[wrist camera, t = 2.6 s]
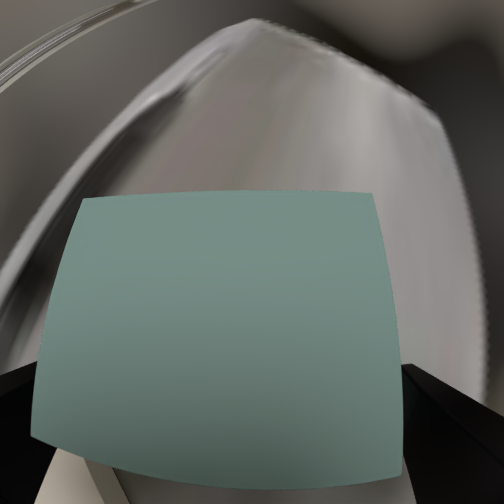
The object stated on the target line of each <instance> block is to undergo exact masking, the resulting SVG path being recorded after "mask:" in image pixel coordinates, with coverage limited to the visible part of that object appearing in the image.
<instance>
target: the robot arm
mask: <svg viewBox="0 0 504 504" xmlns="http://www.w3.org/2000/svg"><path fill="white" fill-rule="evenodd" d="M36 368H37V361H36V362H33V363H31V364H28V365H26V366H23V367H20V368H18V369H15V370H13V371H10V372H8V373H5V374H2V375H0V504H34V503H35V501H36V498H37V495H38V493H39V490H40V488H41V485H42V483H43V480H44V478H45V476H46V473H47V471H48V468H49V466H50V464H51V461H52V459H53V457H54V455H55V452H56V450H57V447H54V446H52V445H50V444H47V443H45V442H43V441H41V440H38V439H36V438H34V437H32V436H31V417H32V403H33V393H34V383H35V375H36ZM401 374H402V393H403V456H404V459H405V463H406V466H407V469H408V473H409V477H410V480H411V484H412V488H413V491H414V495H415V499H416V503H417V504H504V417H503V416H501V415H499V414H498V413H496V412H494V411H493V410H491V409H489V408H487V407H486V406H484V405H482V404H480V403H479V402H477V401H475V400H473V399H472V398H470V397H468V396H467V395H465V394H463V393H461V392H460V391H458V390H456V389H455V388H453V387H451V386H449V385H448V384H446V383H444V382H443V381H441V380H439V379H437V378H436V377H434V376H432V375H431V374H429V373H427V372H425V371H424V370H422V369H420V368H419V367H417V366H415V365H414V364H403V365H401Z"/></svg>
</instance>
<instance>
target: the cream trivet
mask: <svg viewBox="0 0 504 504" xmlns="http://www.w3.org/2000/svg"><path fill="white" fill-rule="evenodd" d="M34 504H130V503H129V501H128V499H127V497H126V495H125V493H124V492H123V490H122V488H121V486H120V483H119V481H118V479H117V477H116V475H115V473H114V471H113V469H112V467H110V466H107V465H104V464H100V463H97V462H94V461H91V460H88V459H85V458H83V457H80V456H77V455H74V454H72V453H69V452H67V451H64V450H61V449H59V448H57V450H56V452H55V455H54V457H53V459H52V461H51V464H50V466H49V468H48V471H47V473H46V476H45V478H44V480H43V483H42V485H41V488H40V490H39V493H38V495H37V498H36V501H35V503H34Z"/></svg>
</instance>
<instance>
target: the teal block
mask: <svg viewBox="0 0 504 504" xmlns="http://www.w3.org/2000/svg"><path fill="white" fill-rule="evenodd" d="M31 436H32V437H34V438H36V439H38V440H41V441H43V442H45V443H47V444H50V445H52V446H54V447H57V448H59V449H61V450H64V451H67V452H69V453H72V454H74V455H77V456H80V457H83V458H85V459H88V460H91V461H94V462H97V463H100V464H104V465H107V466H110V467H114V468H117V469H121V470H124V471H128V472H132V473H136V474H140V475H144V476H149V477H153V478H158V479H163V480H169V481H174V482H180V483H186V484H193V485H201V486H209V487H219V488H231V489H247V490H300V489H317V488H329V487H338V486H347V485H354V484H361V483H367V482H373V481H378V480H383V479H388V478H393V477H398V476H402V457H403V393H402V374H401V360H400V348H399V338H398V329H397V320H396V313H395V305H394V298H393V292H392V285H391V279H390V273H389V268H388V262H387V257H386V252H385V247H384V242H383V237H382V233H381V228H380V224H379V219H378V215H377V211H376V207H375V203H374V199H373V195H372V193H356V192H331V191H283V190H248V191H199V192H174V193H154V194H137V195H123V196H110V197H98V198H87V199H83V201H82V204H81V206H80V209H79V211H78V214H77V216H76V219H75V222H74V224H73V227H72V230H71V233H70V235H69V238H68V241H67V244H66V247H65V250H64V253H63V256H62V259H61V262H60V266H59V269H58V272H57V276H56V279H55V283H54V286H53V290H52V294H51V298H50V302H49V306H48V310H47V314H46V319H45V323H44V328H43V333H42V338H41V344H40V349H39V355H38V361H37V368H36V375H35V383H34V393H33V403H32V417H31Z"/></svg>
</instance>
